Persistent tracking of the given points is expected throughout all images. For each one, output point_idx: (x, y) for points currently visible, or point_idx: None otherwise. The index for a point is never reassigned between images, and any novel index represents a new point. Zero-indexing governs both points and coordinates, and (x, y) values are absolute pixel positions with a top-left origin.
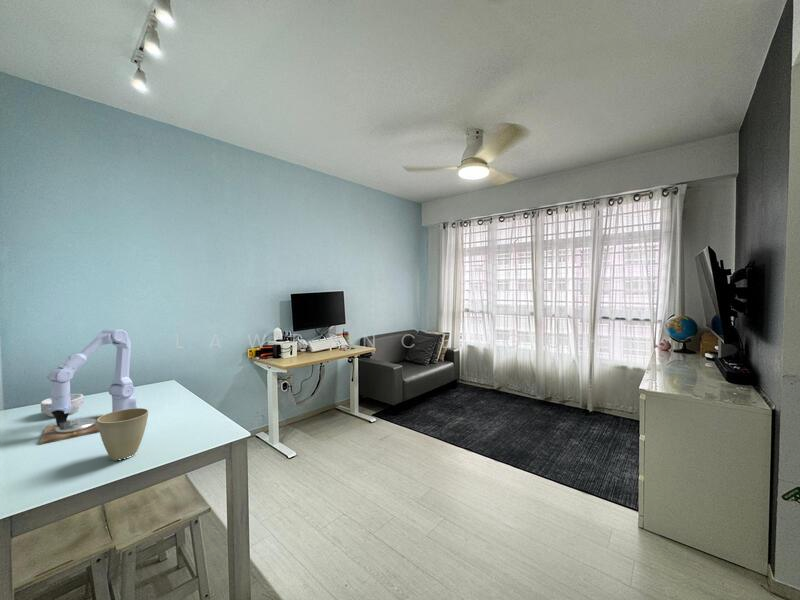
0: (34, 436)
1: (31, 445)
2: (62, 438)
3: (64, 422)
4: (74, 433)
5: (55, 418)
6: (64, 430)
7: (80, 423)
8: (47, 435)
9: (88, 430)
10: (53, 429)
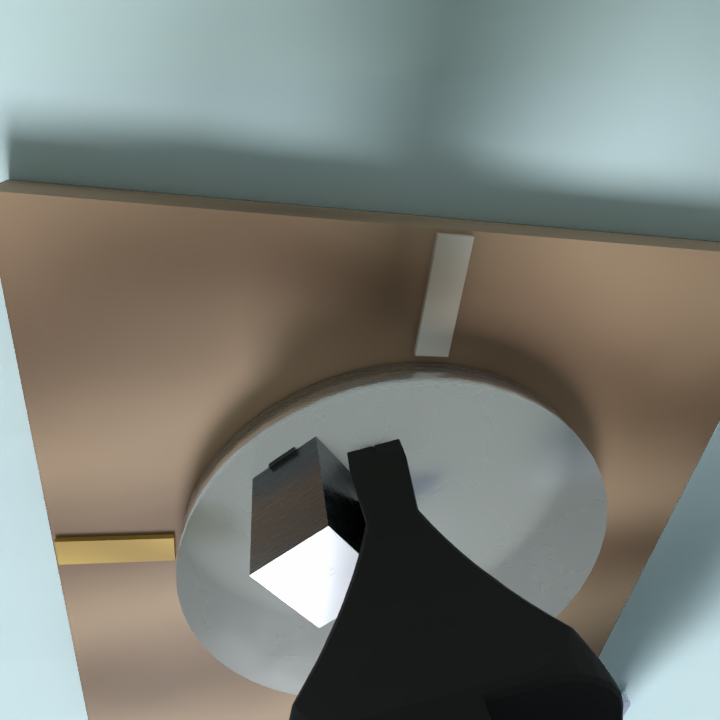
0: (564, 107)
1: (68, 59)
2: (43, 432)
3: (277, 582)
4: (96, 548)
5: (428, 549)
6: (208, 488)
7: None
8: (297, 280)
9: (132, 638)
10: (549, 338)
